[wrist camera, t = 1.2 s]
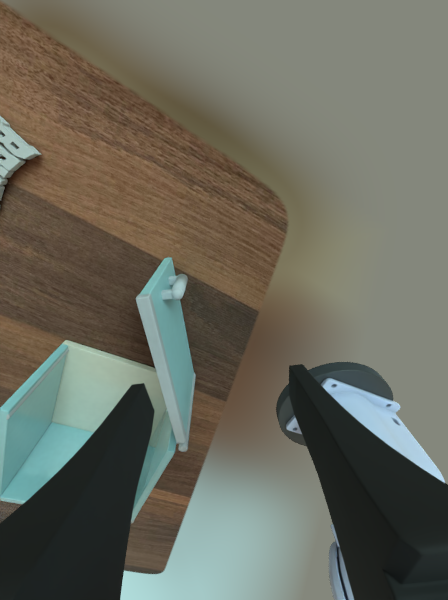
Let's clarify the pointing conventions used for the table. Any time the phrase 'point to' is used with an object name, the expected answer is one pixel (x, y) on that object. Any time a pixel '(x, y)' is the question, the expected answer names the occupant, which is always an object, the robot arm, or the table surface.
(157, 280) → the turquoise cabinet door
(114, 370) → the turquoise open box
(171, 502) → the table surface
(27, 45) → the table surface
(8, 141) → the necklace
